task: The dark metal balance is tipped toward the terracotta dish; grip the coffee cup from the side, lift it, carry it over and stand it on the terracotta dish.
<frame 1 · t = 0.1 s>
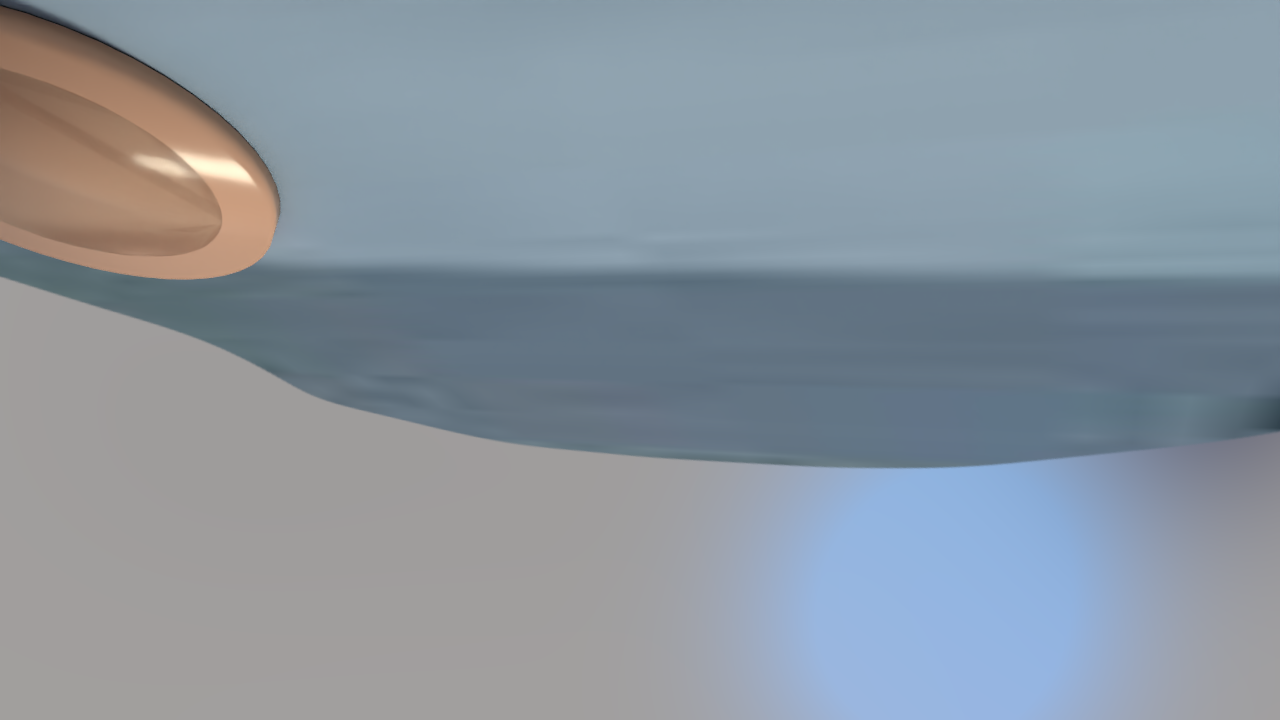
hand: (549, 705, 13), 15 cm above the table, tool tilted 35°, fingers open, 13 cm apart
dish: (54, 146, 34), on the table
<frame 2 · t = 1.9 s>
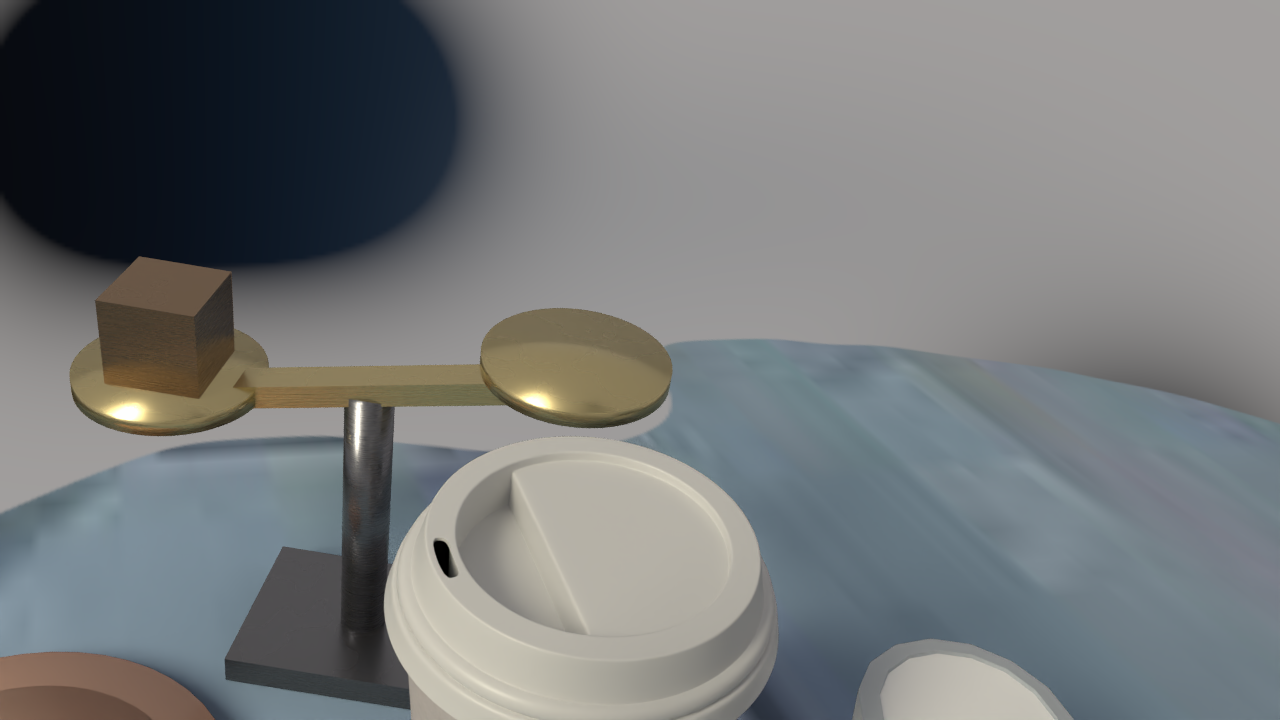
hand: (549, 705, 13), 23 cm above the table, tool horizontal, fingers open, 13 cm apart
balance: (362, 636, 44), on the table
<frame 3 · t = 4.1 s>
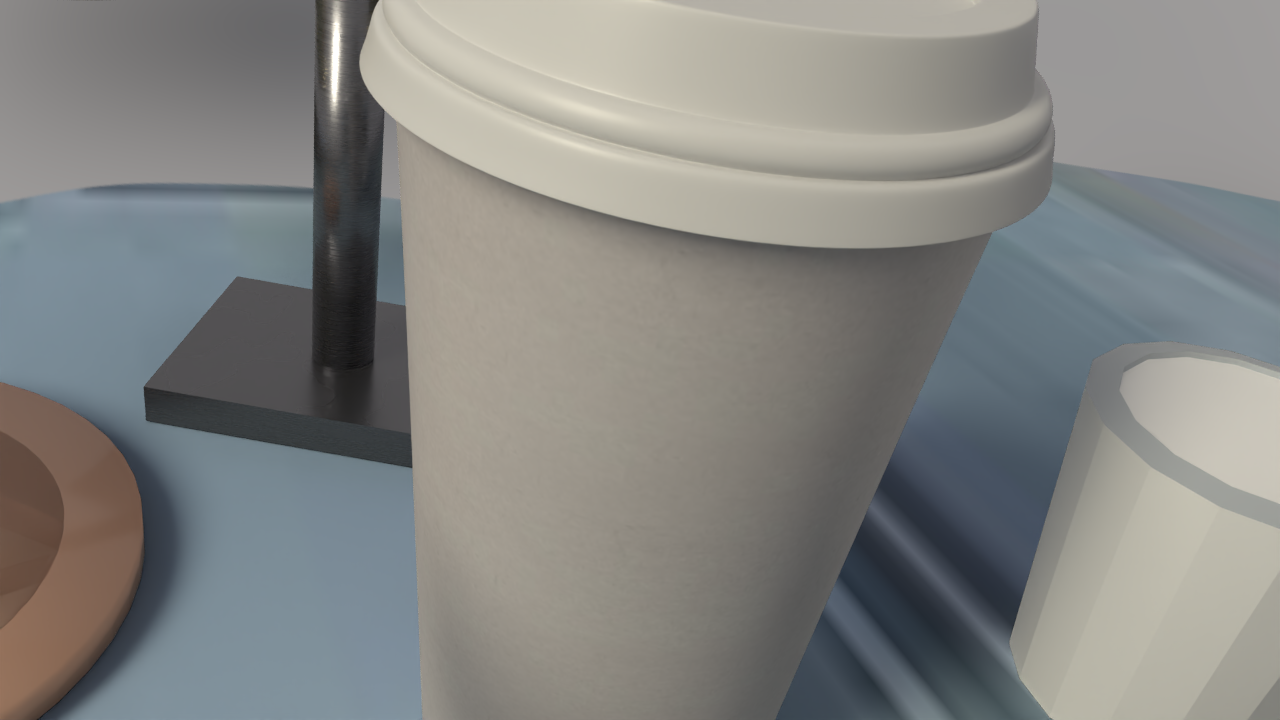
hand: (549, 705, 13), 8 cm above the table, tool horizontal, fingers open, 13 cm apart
balance: (342, 384, 32), on the table
shot glass: (1130, 684, 27), on the table
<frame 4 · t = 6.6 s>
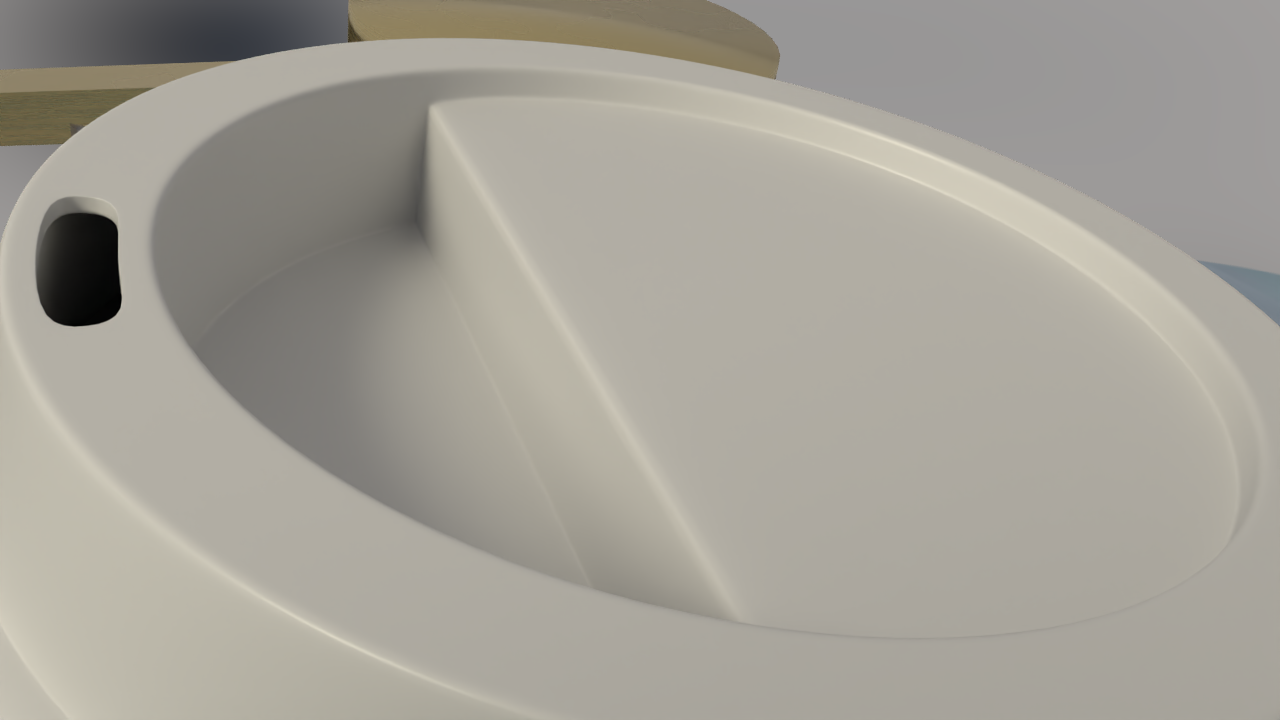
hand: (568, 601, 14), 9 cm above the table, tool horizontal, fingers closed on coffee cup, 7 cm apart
balance: (165, 641, 23), on the table
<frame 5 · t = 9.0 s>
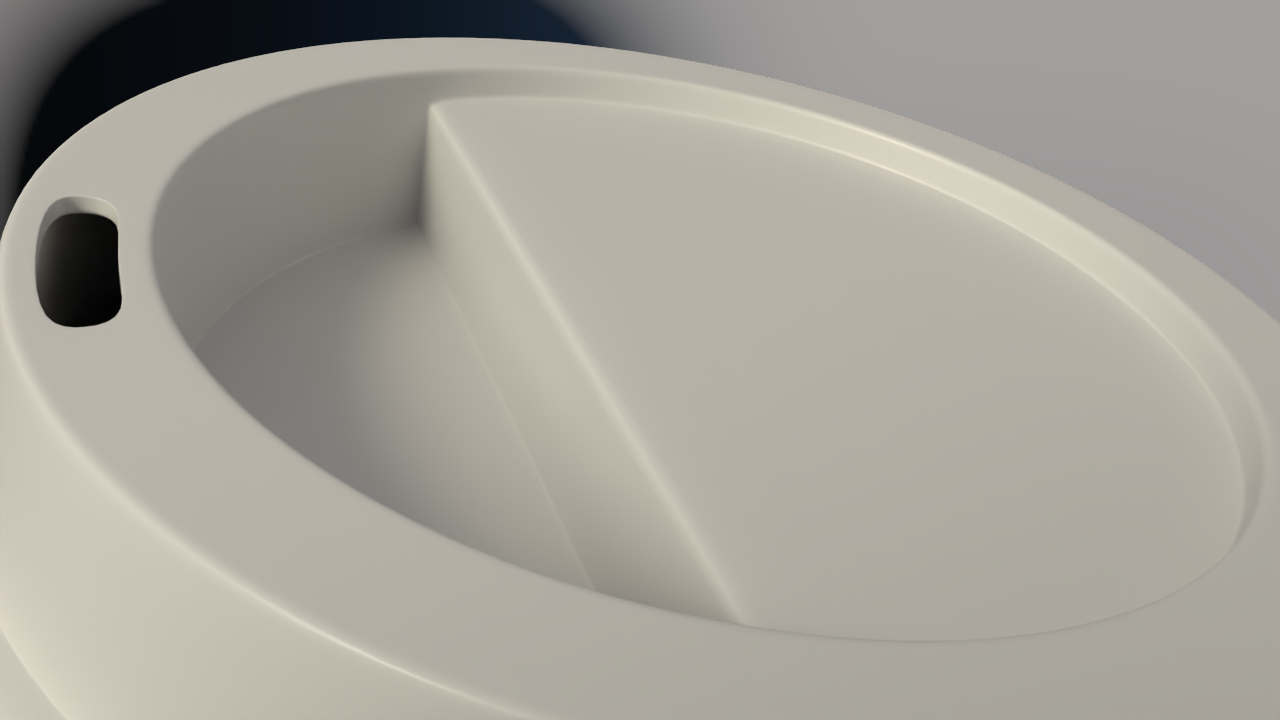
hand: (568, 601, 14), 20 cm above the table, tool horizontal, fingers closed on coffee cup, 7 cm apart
when the fingers open (10 cm above the table, at t = 11.9 s): coffee cup stays where it is, resting on dish.
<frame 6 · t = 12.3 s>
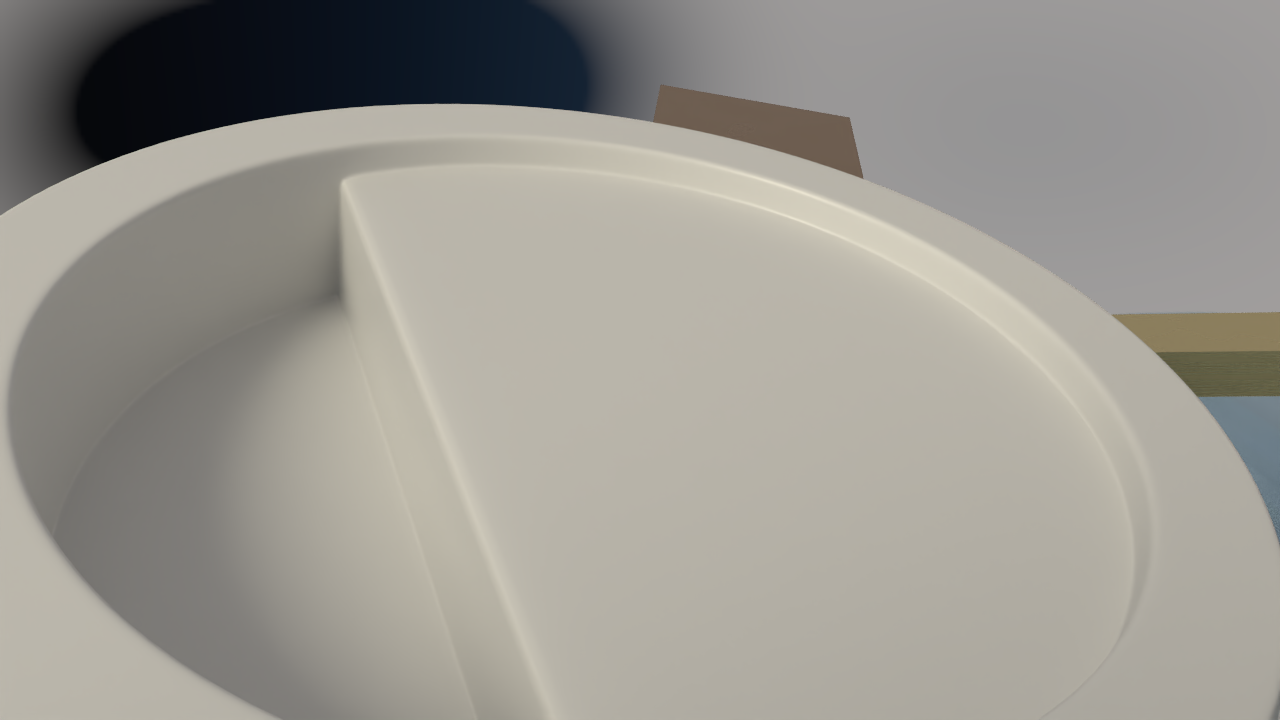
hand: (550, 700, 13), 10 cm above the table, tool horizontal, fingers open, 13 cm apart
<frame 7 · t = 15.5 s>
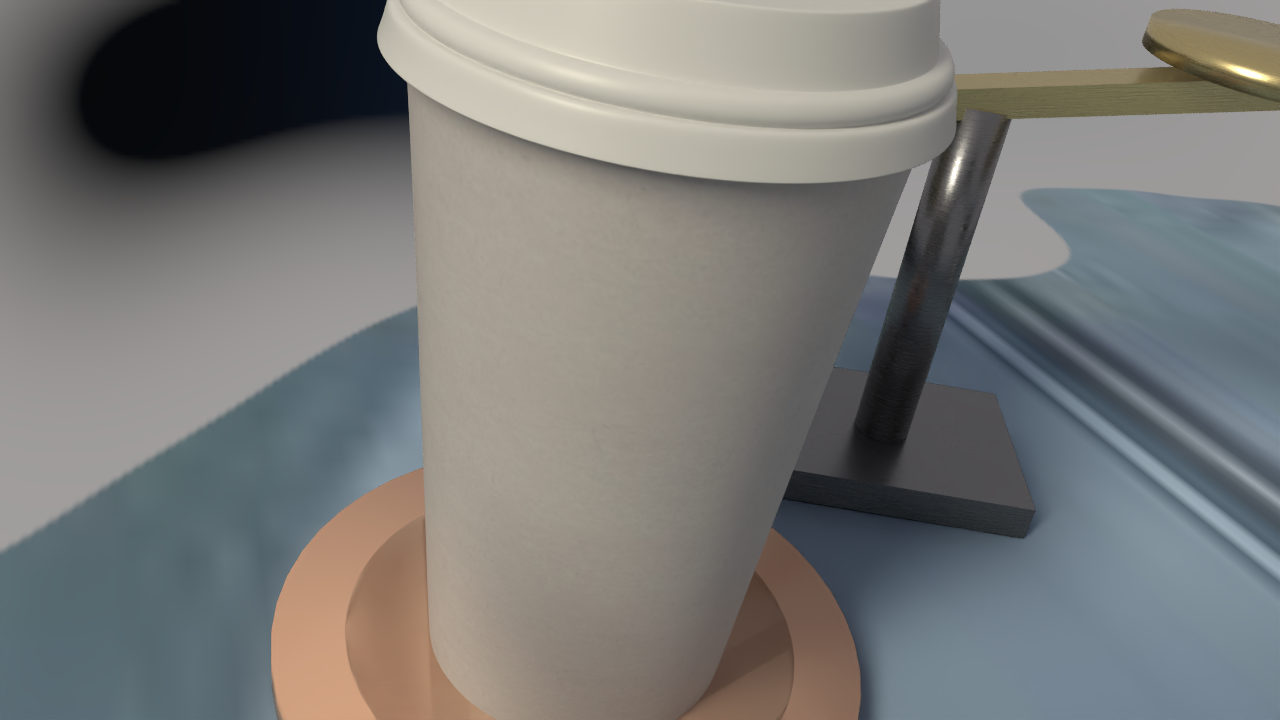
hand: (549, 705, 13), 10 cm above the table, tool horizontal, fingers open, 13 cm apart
balance: (873, 452, 36), on the table
dish: (570, 648, 27), on the table
coffee cup: (575, 633, 26), point 1 cm above the table, touching dish
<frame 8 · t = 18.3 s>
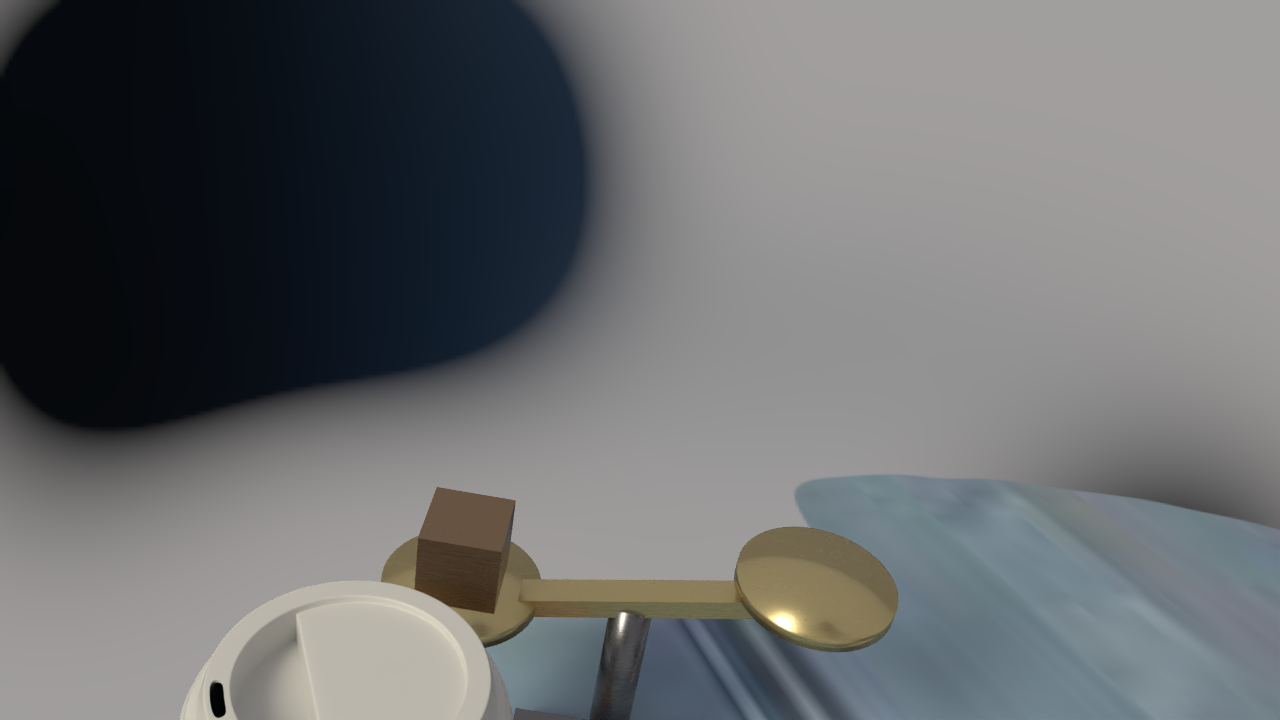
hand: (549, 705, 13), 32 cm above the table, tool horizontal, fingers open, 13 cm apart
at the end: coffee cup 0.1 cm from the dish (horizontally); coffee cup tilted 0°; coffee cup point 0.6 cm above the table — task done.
